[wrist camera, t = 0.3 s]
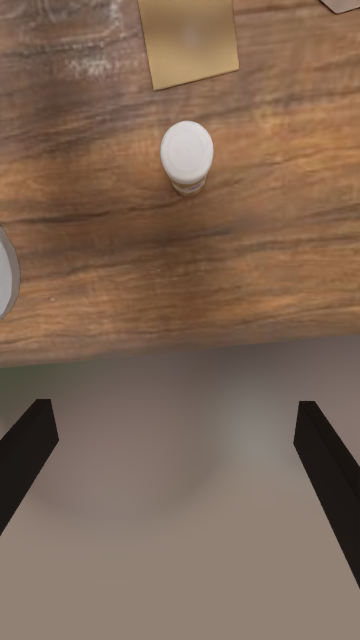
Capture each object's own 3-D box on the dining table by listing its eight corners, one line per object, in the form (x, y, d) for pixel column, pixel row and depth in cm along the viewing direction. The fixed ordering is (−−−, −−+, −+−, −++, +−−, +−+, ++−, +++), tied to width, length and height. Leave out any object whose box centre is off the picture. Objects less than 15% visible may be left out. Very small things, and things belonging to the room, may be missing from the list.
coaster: (134, -19, 30) (133, -22, 29) (227, -46, 29) (227, -50, 28) (154, 91, 33) (153, 90, 33) (238, 70, 32) (238, 68, 32)
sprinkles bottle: (184, 204, 37) (181, 193, 24) (163, 173, 36) (148, 145, 23) (213, 180, 36) (224, 156, 23) (192, 148, 35) (192, 105, 22)
